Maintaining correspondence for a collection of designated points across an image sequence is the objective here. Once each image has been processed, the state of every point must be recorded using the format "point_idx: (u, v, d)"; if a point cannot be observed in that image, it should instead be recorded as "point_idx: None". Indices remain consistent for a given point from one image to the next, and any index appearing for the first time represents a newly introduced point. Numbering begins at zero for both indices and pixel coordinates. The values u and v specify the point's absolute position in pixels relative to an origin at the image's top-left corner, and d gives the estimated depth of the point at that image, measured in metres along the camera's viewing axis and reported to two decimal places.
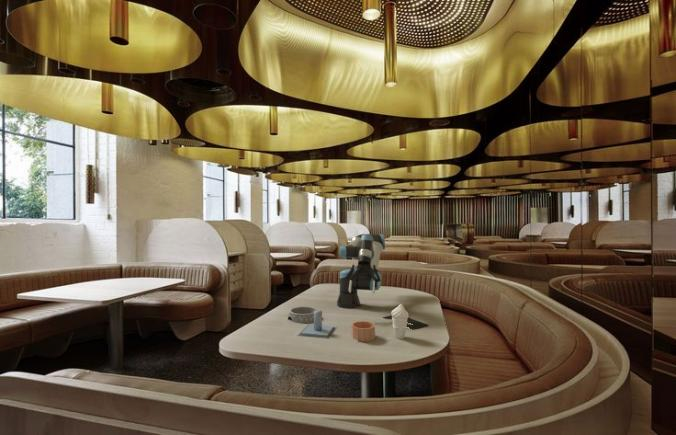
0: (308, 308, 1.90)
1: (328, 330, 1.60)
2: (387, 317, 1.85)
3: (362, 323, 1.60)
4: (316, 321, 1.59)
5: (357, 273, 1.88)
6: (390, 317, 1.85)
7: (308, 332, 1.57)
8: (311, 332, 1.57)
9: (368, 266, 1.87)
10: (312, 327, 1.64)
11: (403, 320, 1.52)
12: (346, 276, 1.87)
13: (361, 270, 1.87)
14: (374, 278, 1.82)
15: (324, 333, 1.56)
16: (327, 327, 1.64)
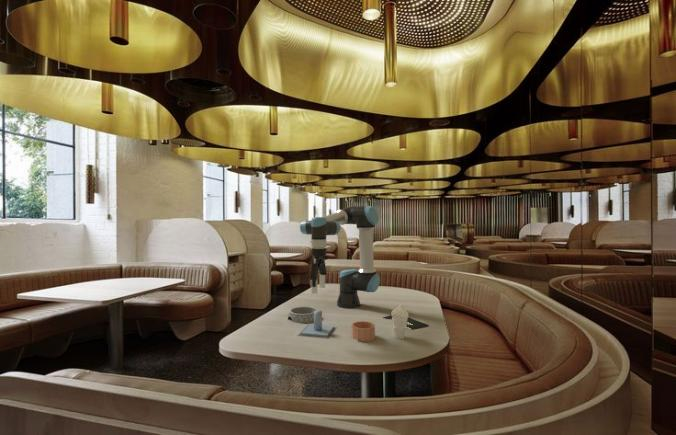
0: (308, 308, 1.90)
1: (328, 330, 1.60)
2: (387, 317, 1.85)
3: (362, 323, 1.60)
4: (316, 321, 1.59)
5: (320, 266, 1.65)
6: (390, 317, 1.85)
7: (308, 332, 1.57)
8: (311, 332, 1.57)
9: None
10: (312, 327, 1.64)
11: (403, 320, 1.52)
12: None
13: None
14: None
15: (324, 333, 1.56)
16: (327, 327, 1.64)
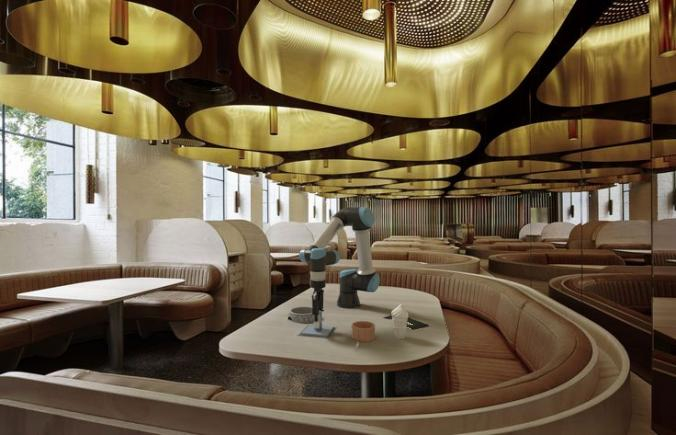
0: (308, 308, 1.90)
1: (328, 330, 1.60)
2: (387, 317, 1.85)
3: (362, 323, 1.60)
4: None
5: None
6: (390, 317, 1.85)
7: (308, 332, 1.57)
8: (311, 332, 1.57)
9: None
10: (312, 327, 1.64)
11: (403, 320, 1.52)
12: None
13: None
14: None
15: (324, 333, 1.56)
16: (327, 327, 1.64)
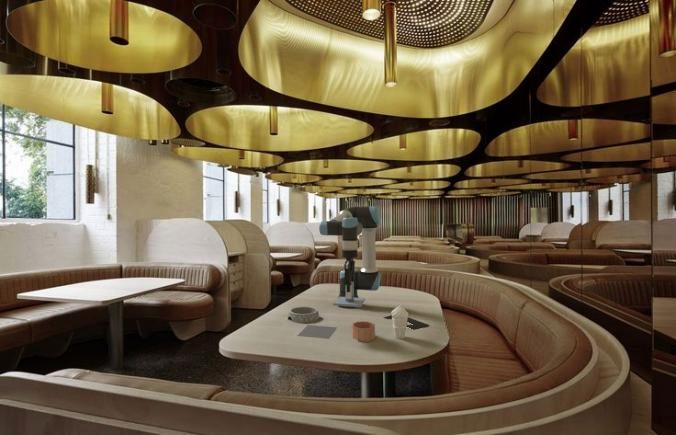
0: (308, 308, 1.90)
1: (360, 301, 1.55)
2: (387, 317, 1.85)
3: (362, 323, 1.60)
4: None
5: None
6: (390, 317, 1.85)
7: (340, 302, 1.52)
8: (343, 302, 1.52)
9: None
10: (343, 299, 1.60)
11: (403, 320, 1.52)
12: None
13: None
14: None
15: (357, 303, 1.51)
16: (359, 299, 1.59)
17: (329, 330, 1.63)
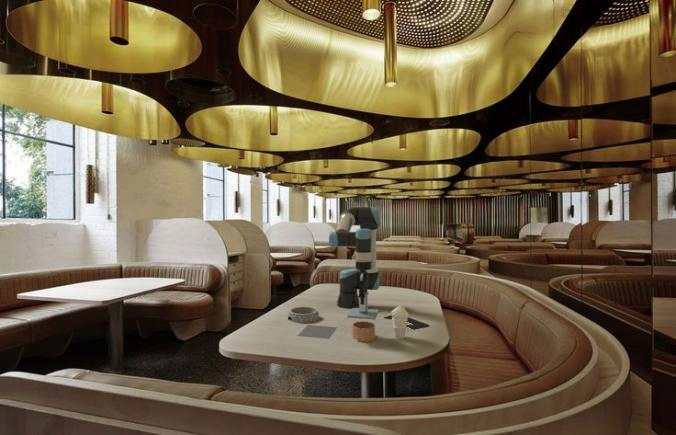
0: (308, 308, 1.90)
1: (374, 313, 1.53)
2: (388, 317, 1.85)
3: (362, 323, 1.60)
4: None
5: None
6: (391, 317, 1.85)
7: (354, 315, 1.51)
8: (357, 315, 1.51)
9: (360, 273, 1.52)
10: (356, 310, 1.58)
11: (403, 320, 1.52)
12: None
13: None
14: None
15: (371, 316, 1.49)
16: (372, 310, 1.58)
17: (329, 330, 1.63)
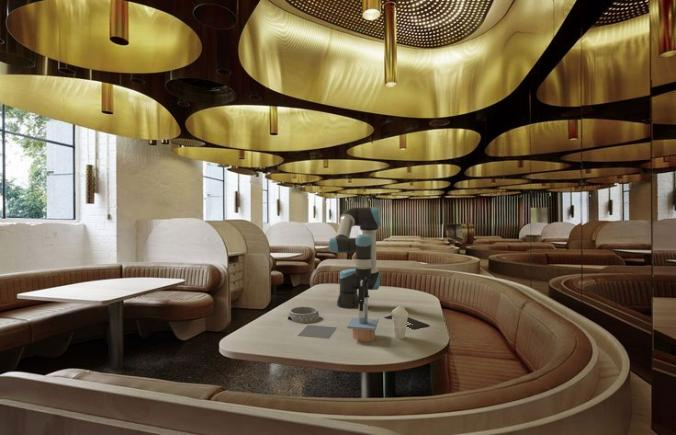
0: (308, 308, 1.90)
1: (374, 323, 1.54)
2: (388, 317, 1.85)
3: None
4: None
5: None
6: (391, 317, 1.85)
7: (354, 325, 1.51)
8: (357, 325, 1.51)
9: (360, 280, 1.53)
10: (356, 320, 1.58)
11: (403, 320, 1.52)
12: None
13: None
14: None
15: (371, 326, 1.50)
16: (372, 320, 1.58)
17: (329, 330, 1.63)
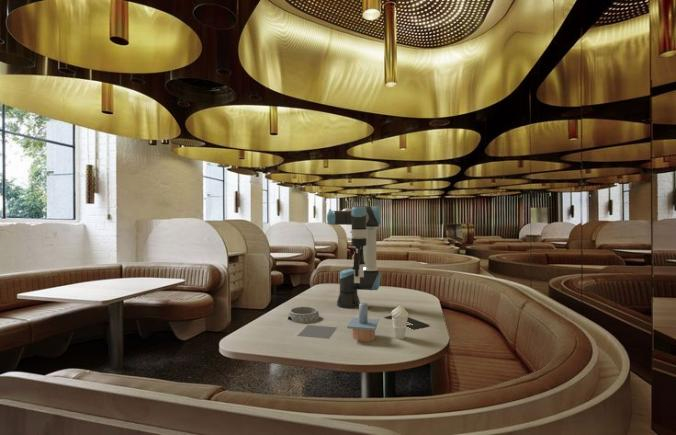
0: (308, 308, 1.90)
1: (374, 323, 1.54)
2: (388, 317, 1.85)
3: None
4: (362, 314, 1.53)
5: (360, 256, 1.66)
6: (391, 317, 1.85)
7: (354, 325, 1.51)
8: (357, 325, 1.51)
9: None
10: (356, 320, 1.58)
11: (403, 320, 1.52)
12: None
13: None
14: None
15: (371, 326, 1.50)
16: (372, 320, 1.58)
17: (329, 330, 1.63)
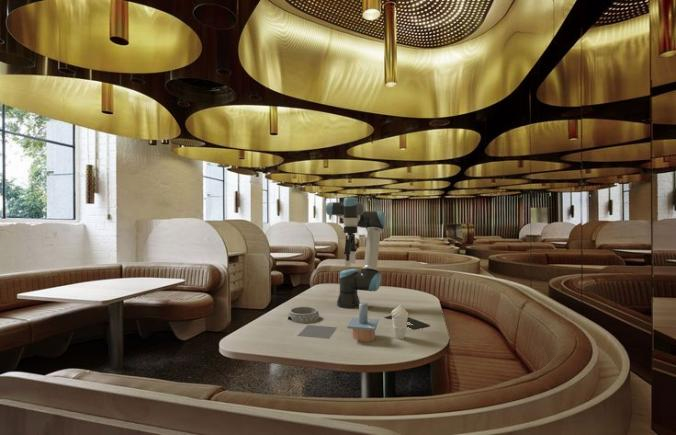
0: (308, 308, 1.90)
1: (374, 323, 1.54)
2: (388, 317, 1.85)
3: None
4: (362, 314, 1.53)
5: (351, 243, 1.79)
6: (391, 317, 1.85)
7: (354, 325, 1.51)
8: (357, 325, 1.51)
9: None
10: (356, 320, 1.58)
11: (403, 320, 1.52)
12: None
13: None
14: None
15: (371, 326, 1.50)
16: (372, 320, 1.58)
17: (329, 330, 1.63)
